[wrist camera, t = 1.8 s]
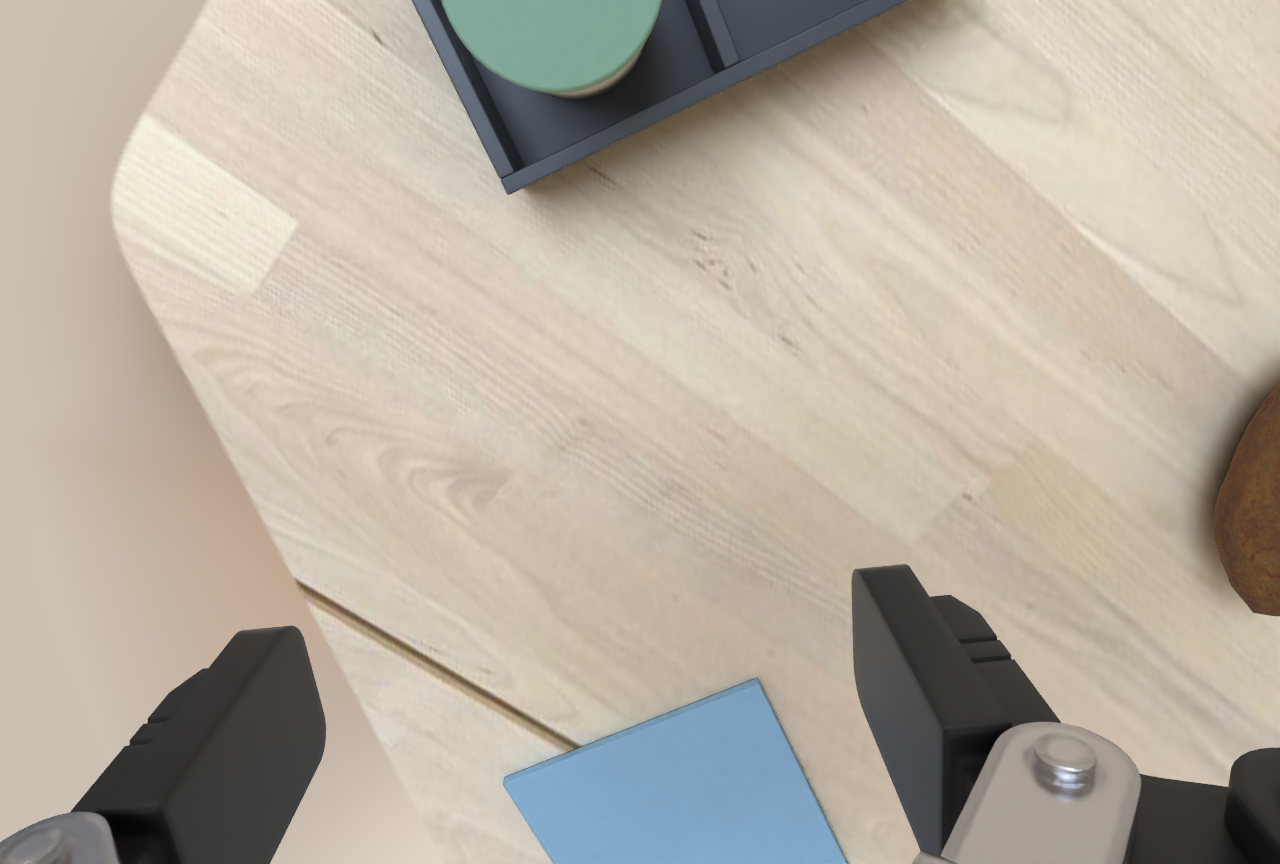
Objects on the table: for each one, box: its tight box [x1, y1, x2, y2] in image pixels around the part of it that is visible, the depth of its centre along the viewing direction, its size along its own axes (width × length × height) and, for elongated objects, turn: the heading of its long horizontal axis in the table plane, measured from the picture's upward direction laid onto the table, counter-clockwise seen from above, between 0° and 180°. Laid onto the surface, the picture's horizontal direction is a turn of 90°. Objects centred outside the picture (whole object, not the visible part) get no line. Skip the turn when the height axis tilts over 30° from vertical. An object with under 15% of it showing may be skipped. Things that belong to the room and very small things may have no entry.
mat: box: [503, 678, 848, 864], centre depth 45 cm, size 14×14×1 cm
